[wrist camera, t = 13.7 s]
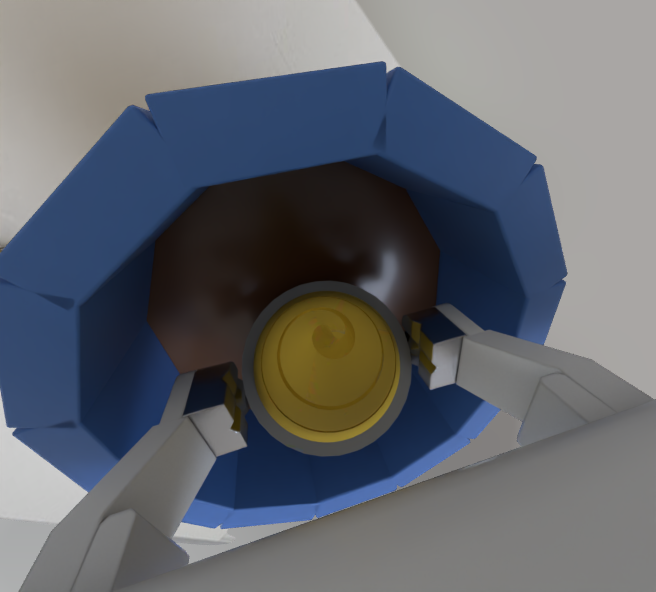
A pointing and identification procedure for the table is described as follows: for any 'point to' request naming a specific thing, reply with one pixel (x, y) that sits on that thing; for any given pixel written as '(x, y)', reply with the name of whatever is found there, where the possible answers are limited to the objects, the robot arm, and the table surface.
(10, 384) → the blue segmented ring
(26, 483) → the table surface
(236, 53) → the table surface
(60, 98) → the table surface
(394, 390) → the yellow tiered cone
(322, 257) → the stand
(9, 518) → the table surface
